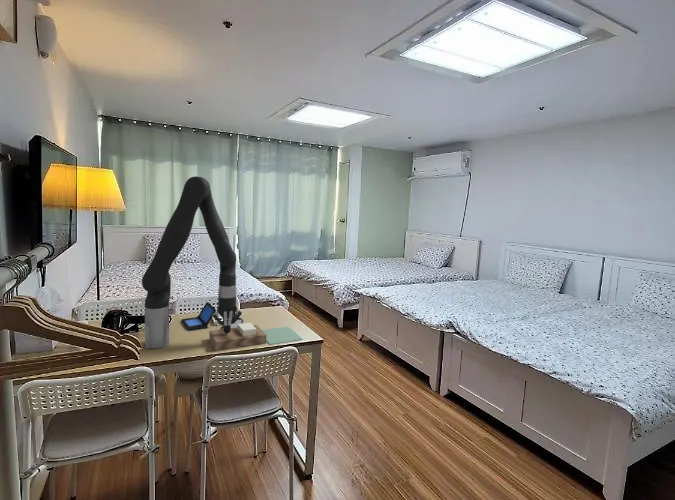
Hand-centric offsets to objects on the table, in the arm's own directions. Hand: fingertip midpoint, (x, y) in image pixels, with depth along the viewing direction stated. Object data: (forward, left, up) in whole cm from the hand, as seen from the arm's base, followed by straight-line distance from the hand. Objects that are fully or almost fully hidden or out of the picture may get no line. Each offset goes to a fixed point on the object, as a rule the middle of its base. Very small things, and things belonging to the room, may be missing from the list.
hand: (226, 333), depth 162 cm
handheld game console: (-7, +29, -5) cm, 30 cm away
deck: (+5, 0, -5) cm, 7 cm away
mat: (+25, 0, -5) cm, 25 cm away
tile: (+9, 0, +1) cm, 9 cm away
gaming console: (+8, +19, -5) cm, 21 cm away
